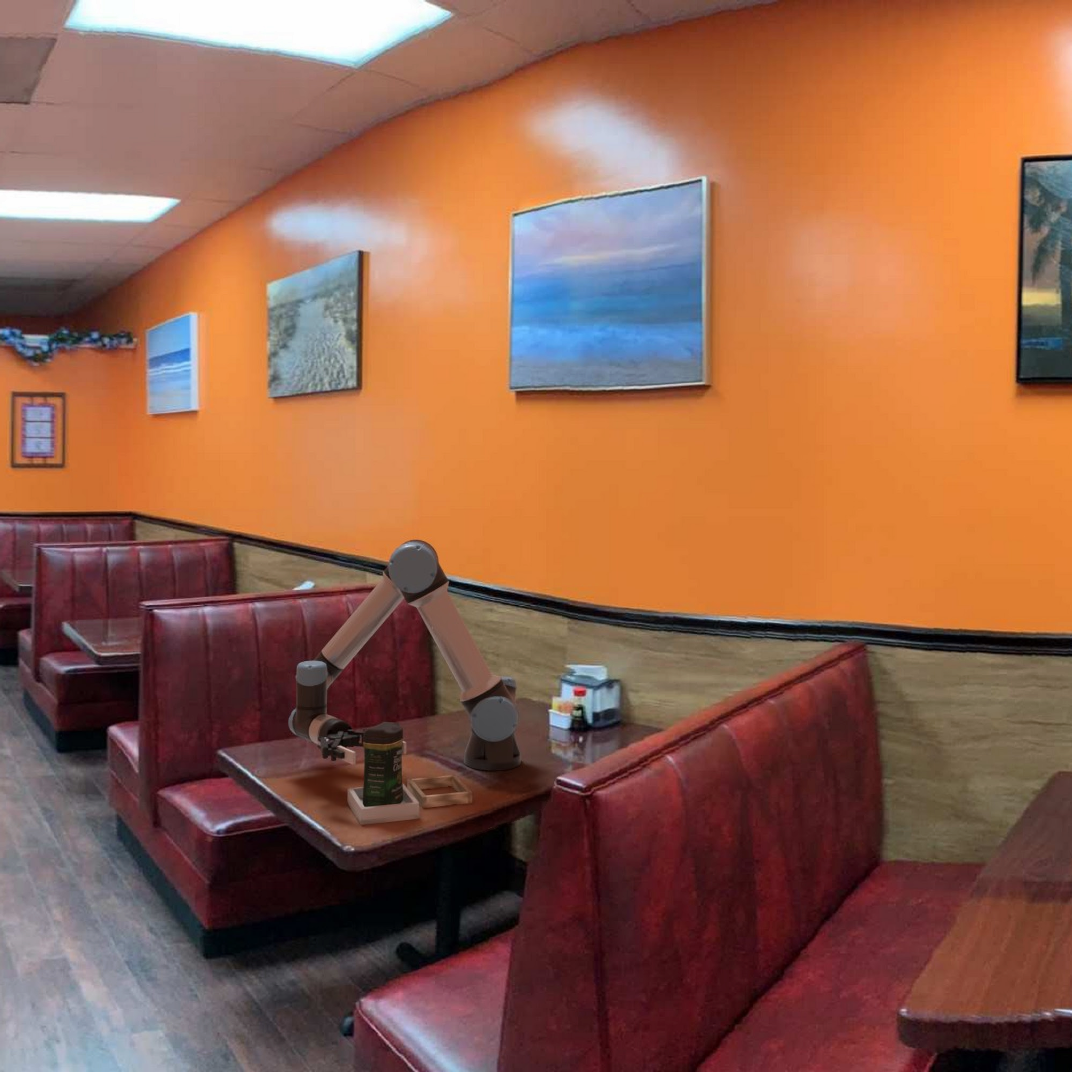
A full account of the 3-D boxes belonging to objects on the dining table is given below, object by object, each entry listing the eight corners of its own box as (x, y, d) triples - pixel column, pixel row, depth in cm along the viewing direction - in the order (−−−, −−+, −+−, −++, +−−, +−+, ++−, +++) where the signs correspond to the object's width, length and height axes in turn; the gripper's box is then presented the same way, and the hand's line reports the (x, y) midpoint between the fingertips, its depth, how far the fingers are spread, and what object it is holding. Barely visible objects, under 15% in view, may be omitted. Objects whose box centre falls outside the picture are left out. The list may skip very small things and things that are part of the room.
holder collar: (454, 784, 250) (454, 774, 250) (472, 802, 237) (472, 792, 237) (407, 789, 246) (407, 779, 246) (422, 808, 233) (422, 797, 233)
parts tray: (402, 797, 240) (402, 783, 240) (418, 818, 226) (419, 803, 226) (347, 802, 235) (347, 788, 235) (360, 824, 221) (361, 809, 221)
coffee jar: (389, 812, 225) (389, 729, 224) (357, 809, 227) (357, 727, 227) (408, 800, 234) (408, 720, 233) (377, 797, 236) (377, 718, 236)
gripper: (374, 740, 254) (424, 759, 239) (284, 757, 238) (331, 779, 222) (375, 710, 254) (425, 728, 238) (284, 725, 237) (332, 746, 221)
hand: (380, 753), depth 230 cm, fingers open, 13 cm apart
